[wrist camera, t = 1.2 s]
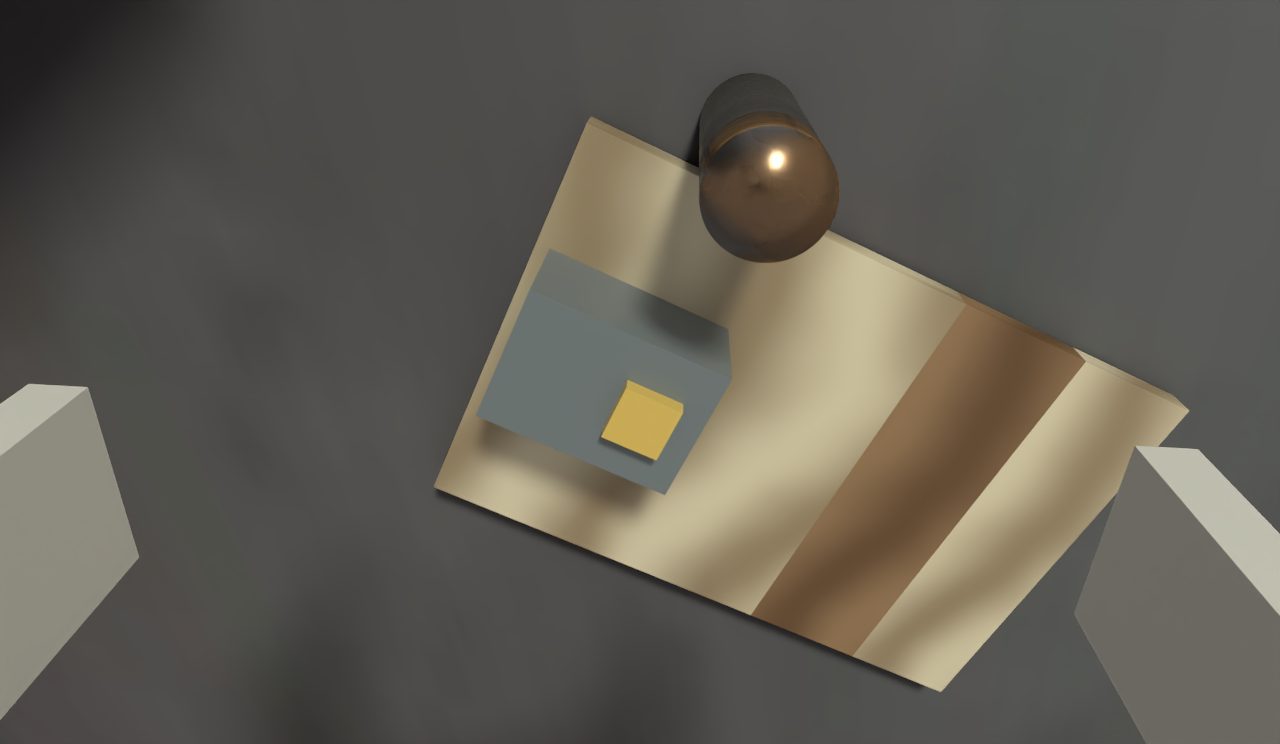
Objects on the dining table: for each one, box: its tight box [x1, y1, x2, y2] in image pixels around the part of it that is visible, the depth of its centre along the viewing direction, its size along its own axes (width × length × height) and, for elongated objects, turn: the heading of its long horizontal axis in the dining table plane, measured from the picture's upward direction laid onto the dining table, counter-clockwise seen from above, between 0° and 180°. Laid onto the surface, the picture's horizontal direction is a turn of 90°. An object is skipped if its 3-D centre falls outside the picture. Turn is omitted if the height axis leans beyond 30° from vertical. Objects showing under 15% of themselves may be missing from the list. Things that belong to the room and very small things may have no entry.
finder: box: [476, 249, 732, 495], centre depth 30 cm, size 7×5×5 cm
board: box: [434, 117, 1189, 692], centre depth 34 cm, size 24×16×1 cm, turn 65°
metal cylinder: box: [699, 73, 840, 263], centre depth 25 cm, size 3×3×9 cm
